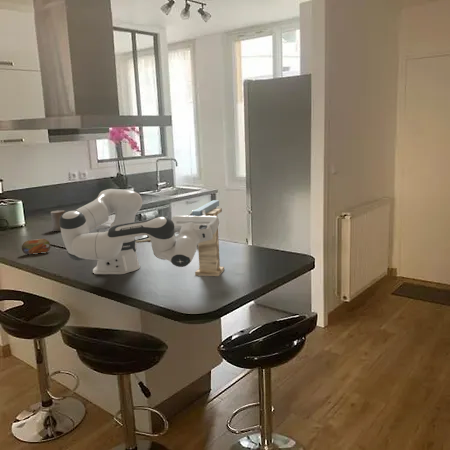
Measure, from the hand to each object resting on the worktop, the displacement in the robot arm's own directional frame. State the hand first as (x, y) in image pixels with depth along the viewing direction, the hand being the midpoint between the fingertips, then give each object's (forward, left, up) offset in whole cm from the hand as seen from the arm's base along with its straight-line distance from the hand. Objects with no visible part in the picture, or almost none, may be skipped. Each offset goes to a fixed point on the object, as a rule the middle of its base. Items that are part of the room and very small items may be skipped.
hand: (198, 211), depth 198 cm
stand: (+3, +11, -31) cm, 33 cm away
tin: (-94, +64, -31) cm, 118 cm away
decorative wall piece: (-27, +84, -32) cm, 94 cm away
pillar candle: (-100, +128, -31) cm, 165 cm away
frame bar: (+3, +11, -2) cm, 11 cm away
